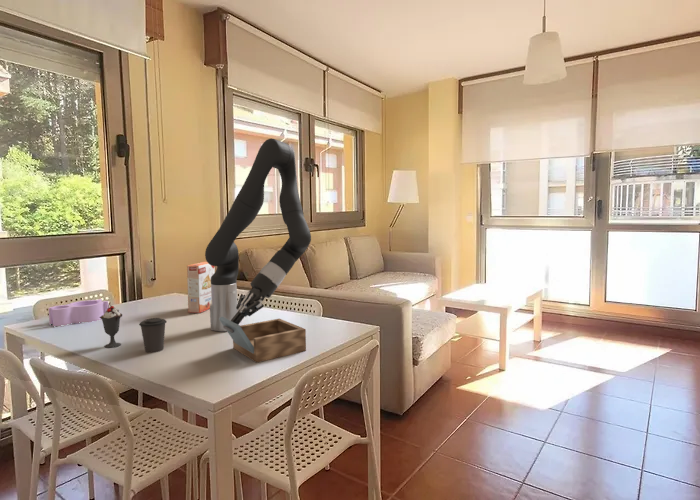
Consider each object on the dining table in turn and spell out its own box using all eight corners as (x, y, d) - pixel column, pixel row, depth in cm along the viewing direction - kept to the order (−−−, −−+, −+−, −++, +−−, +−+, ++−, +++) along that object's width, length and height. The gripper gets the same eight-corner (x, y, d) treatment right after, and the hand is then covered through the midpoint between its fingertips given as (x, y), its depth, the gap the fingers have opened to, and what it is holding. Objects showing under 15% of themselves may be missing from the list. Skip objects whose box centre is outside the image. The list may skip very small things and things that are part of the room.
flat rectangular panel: (238, 340, 141) (221, 316, 137) (256, 350, 130) (239, 325, 126) (232, 345, 140) (215, 321, 136) (250, 356, 129) (233, 330, 125)
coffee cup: (140, 355, 136) (138, 323, 135) (140, 347, 143) (139, 317, 142) (168, 351, 139) (166, 321, 138) (167, 344, 146) (166, 315, 145)
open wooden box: (279, 338, 152) (279, 318, 152) (305, 350, 139) (305, 329, 138) (233, 348, 142) (232, 327, 141) (256, 362, 129) (255, 339, 128)
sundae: (108, 350, 141) (105, 304, 139) (97, 346, 144) (94, 301, 143) (128, 344, 146) (125, 300, 145) (116, 341, 150) (114, 298, 149)
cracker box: (200, 313, 188) (198, 265, 186) (187, 313, 190) (185, 265, 187) (216, 306, 202) (215, 261, 200) (204, 305, 203) (203, 261, 201)
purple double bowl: (57, 329, 167) (55, 311, 166) (45, 323, 174) (44, 306, 174) (112, 318, 182) (111, 302, 182) (99, 314, 190) (98, 298, 189)
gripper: (251, 269, 142) (216, 312, 136) (270, 274, 131) (233, 321, 125) (266, 284, 146) (233, 326, 139) (286, 289, 135) (251, 336, 129)
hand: (233, 324), depth 132 cm, fingers closed
